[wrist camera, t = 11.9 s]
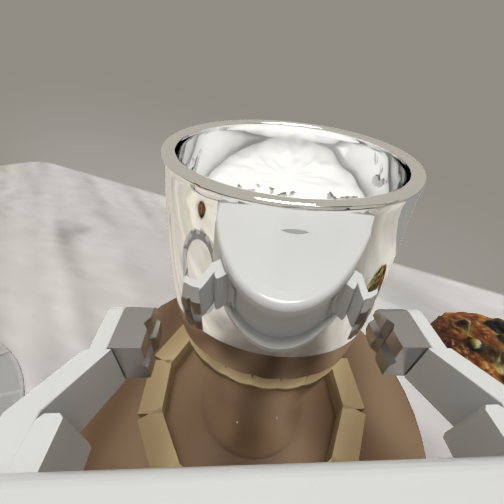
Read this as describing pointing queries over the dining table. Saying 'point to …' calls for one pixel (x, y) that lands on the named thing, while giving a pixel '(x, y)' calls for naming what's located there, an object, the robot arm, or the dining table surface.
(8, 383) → the ring
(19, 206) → the dining table surface
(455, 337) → the bread roll
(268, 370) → the beer glass
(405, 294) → the dining table surface
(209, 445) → the round tray
